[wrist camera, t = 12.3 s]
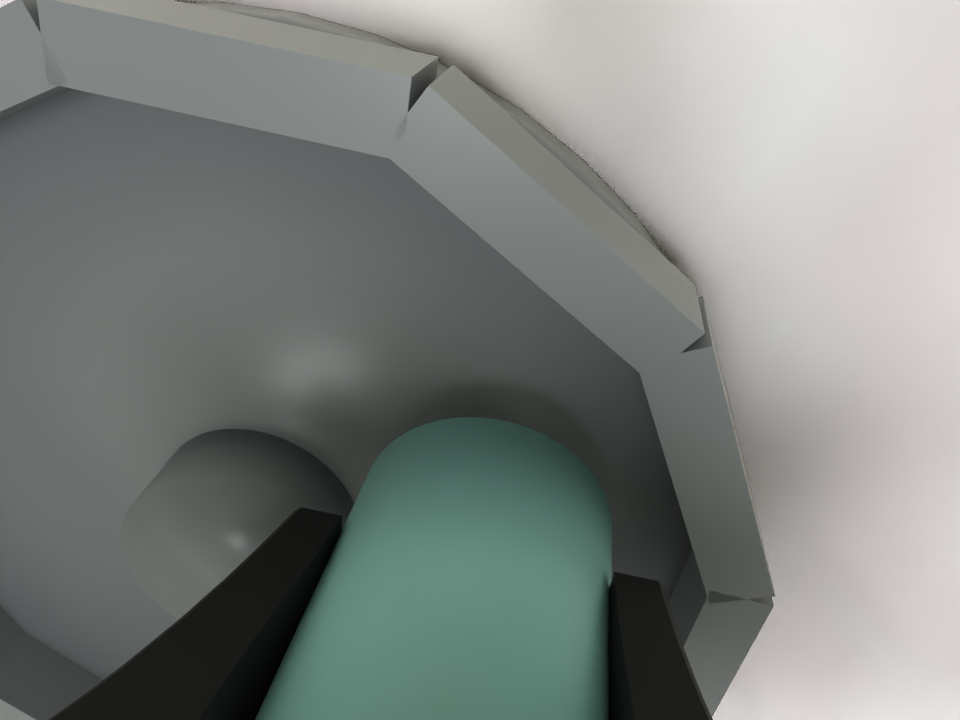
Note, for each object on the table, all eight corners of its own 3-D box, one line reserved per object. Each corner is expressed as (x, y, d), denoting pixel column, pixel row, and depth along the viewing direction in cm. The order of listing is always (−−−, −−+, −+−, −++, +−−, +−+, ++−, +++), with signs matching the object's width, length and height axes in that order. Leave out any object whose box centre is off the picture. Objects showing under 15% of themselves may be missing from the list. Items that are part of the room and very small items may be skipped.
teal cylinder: (638, 596, 12) (646, 956, 8) (415, 621, 13) (319, 945, 9) (572, 393, 11) (539, 715, 6) (323, 443, 12) (153, 741, 8)
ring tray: (808, 723, 17) (835, 840, 15) (161, 768, 22) (112, 858, 20) (574, -227, 9) (559, -271, 7) (-325, 201, 15) (-487, 250, 12)
